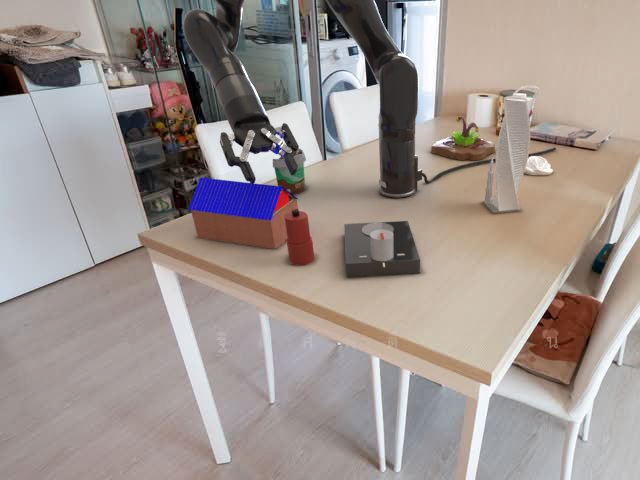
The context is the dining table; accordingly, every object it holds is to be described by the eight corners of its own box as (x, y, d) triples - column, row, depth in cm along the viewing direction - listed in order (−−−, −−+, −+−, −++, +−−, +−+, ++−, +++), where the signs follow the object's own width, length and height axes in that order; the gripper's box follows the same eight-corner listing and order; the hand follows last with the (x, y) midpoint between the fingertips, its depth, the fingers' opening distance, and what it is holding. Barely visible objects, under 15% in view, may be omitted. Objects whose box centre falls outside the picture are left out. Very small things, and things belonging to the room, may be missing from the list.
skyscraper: (513, 200, 119) (529, 82, 104) (527, 212, 113) (546, 88, 97) (482, 203, 118) (494, 83, 102) (494, 215, 111) (509, 89, 96)
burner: (381, 220, 101) (381, 220, 101) (400, 231, 97) (400, 230, 97) (355, 228, 98) (355, 227, 98) (373, 239, 93) (373, 239, 93)
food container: (299, 198, 121) (294, 160, 115) (277, 197, 122) (271, 159, 116) (315, 183, 131) (312, 147, 125) (295, 181, 132) (290, 146, 126)
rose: (534, 150, 142) (561, 156, 136) (532, 164, 145) (559, 171, 139) (514, 156, 137) (542, 163, 131) (512, 170, 139) (539, 178, 133)
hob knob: (370, 251, 89) (369, 228, 86) (392, 249, 90) (392, 227, 87) (371, 262, 85) (370, 238, 83) (394, 260, 86) (394, 237, 83)
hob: (345, 236, 102) (344, 223, 100) (407, 233, 103) (407, 220, 101) (346, 283, 85) (345, 268, 83) (421, 278, 86) (421, 264, 85)
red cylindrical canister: (307, 251, 96) (301, 203, 90) (318, 260, 92) (313, 211, 87) (285, 257, 93) (277, 209, 88) (296, 267, 90) (288, 217, 84)
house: (276, 249, 96) (266, 196, 90) (195, 237, 101) (181, 186, 95) (302, 226, 106) (296, 177, 99) (228, 216, 111) (217, 169, 104)
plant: (452, 140, 168) (454, 108, 162) (501, 149, 159) (505, 115, 153) (422, 153, 155) (423, 118, 149) (474, 163, 145) (477, 127, 139)
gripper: (207, 97, 85) (241, 174, 83) (279, 89, 92) (311, 160, 90) (204, 122, 91) (236, 194, 90) (272, 113, 98) (302, 179, 97)
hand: (274, 177), depth 90 cm, fingers open, 8 cm apart
